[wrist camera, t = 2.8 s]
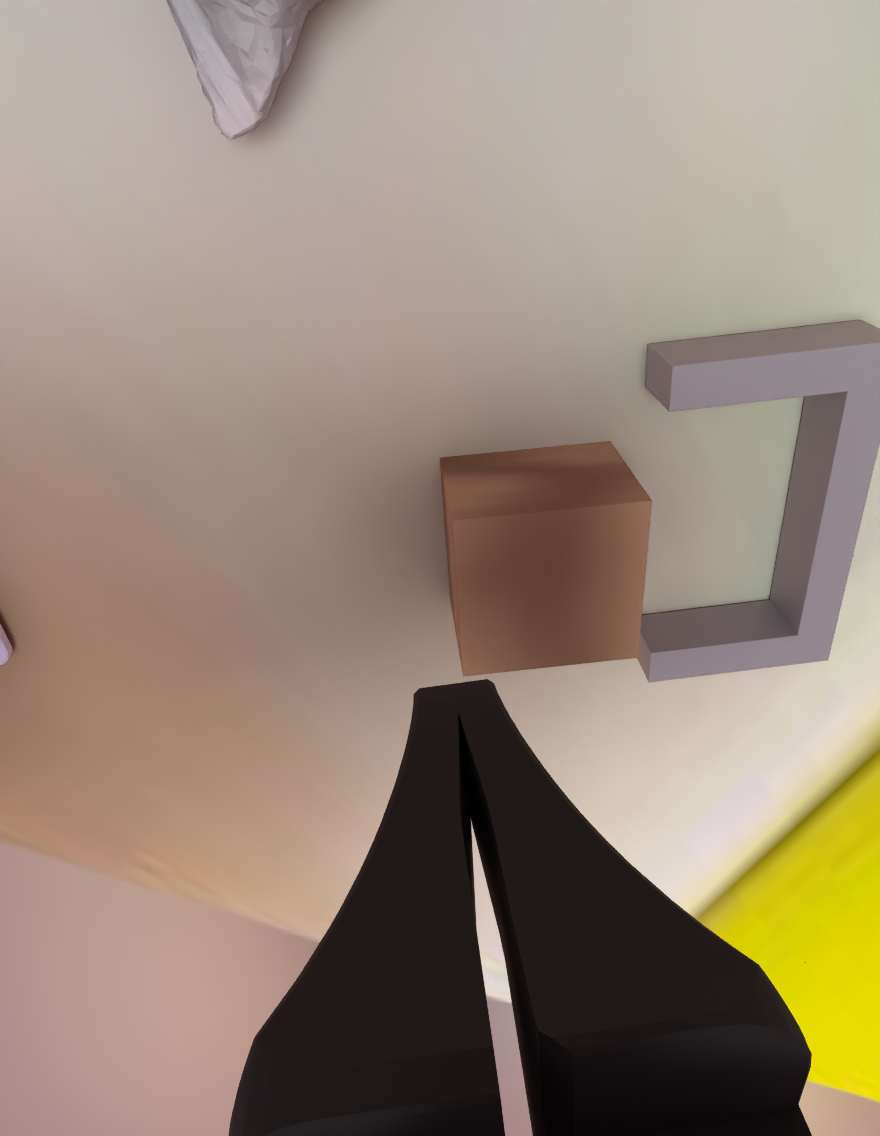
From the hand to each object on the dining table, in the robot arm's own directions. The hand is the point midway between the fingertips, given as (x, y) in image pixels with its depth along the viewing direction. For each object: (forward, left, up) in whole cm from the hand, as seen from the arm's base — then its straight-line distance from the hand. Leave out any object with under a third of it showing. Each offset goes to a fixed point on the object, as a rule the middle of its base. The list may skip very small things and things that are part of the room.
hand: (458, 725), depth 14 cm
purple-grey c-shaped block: (+9, -2, -10) cm, 14 cm away
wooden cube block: (+3, -2, -10) cm, 11 cm away
